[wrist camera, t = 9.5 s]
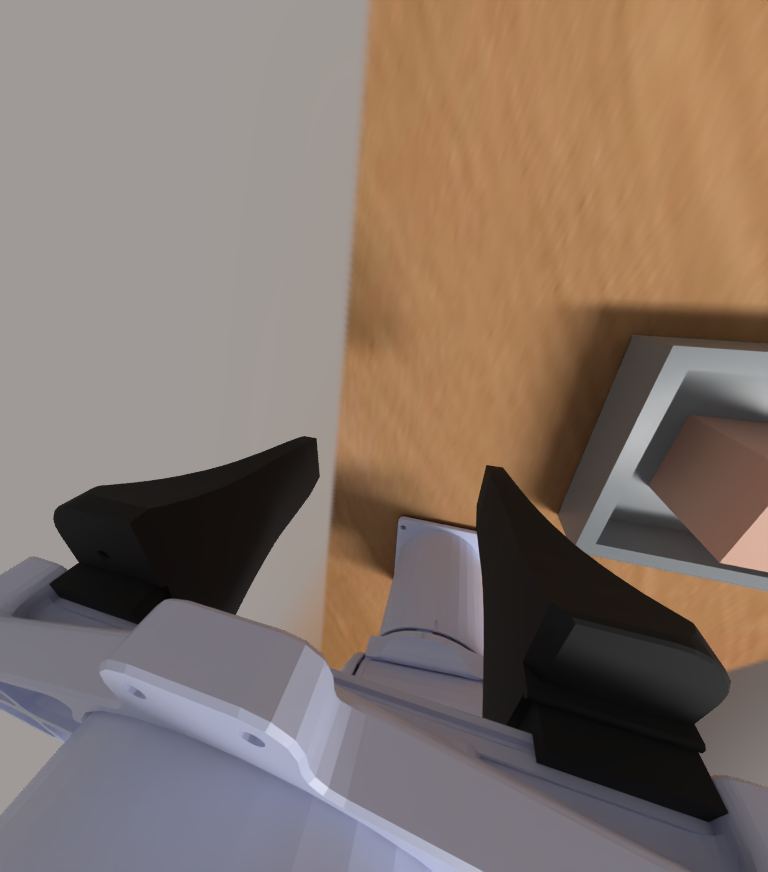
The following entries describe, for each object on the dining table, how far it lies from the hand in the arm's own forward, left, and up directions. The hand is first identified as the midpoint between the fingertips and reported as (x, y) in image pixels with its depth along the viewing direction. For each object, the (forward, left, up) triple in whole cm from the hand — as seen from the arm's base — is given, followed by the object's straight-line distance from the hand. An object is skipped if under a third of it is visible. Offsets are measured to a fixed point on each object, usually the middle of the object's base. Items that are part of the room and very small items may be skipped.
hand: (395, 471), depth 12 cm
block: (-1, -18, -9) cm, 20 cm away
